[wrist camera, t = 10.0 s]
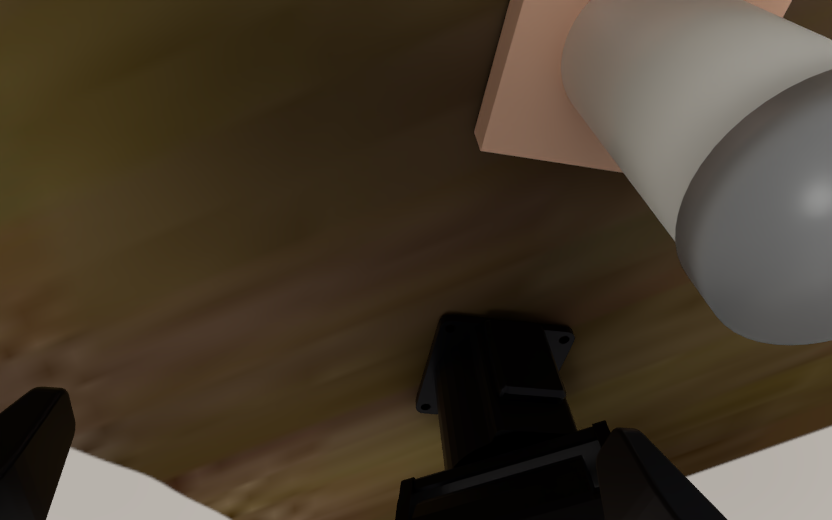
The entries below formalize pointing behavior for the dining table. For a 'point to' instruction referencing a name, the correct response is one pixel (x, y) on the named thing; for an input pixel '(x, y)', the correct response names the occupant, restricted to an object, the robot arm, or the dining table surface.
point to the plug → (721, 148)
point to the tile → (543, 88)
